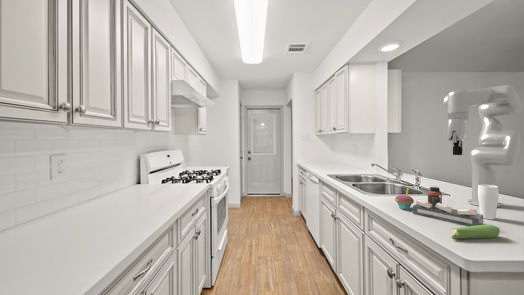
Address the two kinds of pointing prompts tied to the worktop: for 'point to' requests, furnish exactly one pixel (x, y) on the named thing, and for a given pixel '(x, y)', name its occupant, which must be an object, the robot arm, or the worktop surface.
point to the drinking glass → (488, 200)
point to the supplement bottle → (434, 196)
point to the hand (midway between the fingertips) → (457, 154)
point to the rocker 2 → (444, 207)
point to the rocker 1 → (424, 203)
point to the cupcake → (404, 201)
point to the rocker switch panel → (448, 215)
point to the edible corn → (476, 232)
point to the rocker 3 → (467, 211)
